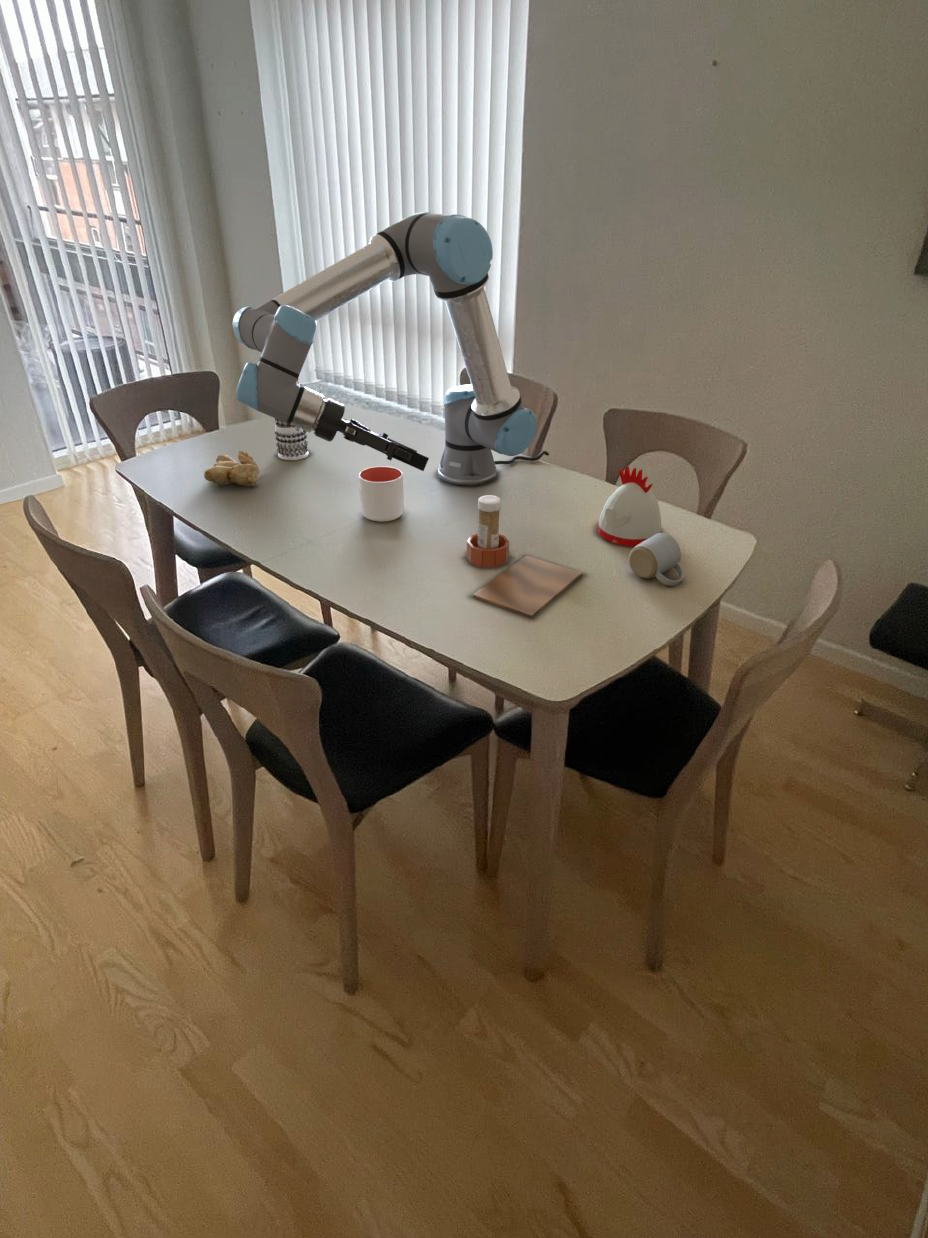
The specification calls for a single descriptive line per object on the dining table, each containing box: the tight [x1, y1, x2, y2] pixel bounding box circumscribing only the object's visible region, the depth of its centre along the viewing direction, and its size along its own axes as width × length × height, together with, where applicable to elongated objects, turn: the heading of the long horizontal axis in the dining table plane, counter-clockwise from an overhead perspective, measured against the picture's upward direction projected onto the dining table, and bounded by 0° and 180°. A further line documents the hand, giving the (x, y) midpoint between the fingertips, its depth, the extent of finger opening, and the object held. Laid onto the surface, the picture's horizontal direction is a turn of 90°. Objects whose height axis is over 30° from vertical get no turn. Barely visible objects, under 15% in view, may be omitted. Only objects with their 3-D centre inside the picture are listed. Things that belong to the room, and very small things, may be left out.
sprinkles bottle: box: [477, 494, 502, 549], centre depth 152 cm, size 5×5×14 cm
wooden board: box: [472, 555, 583, 619], centre depth 146 cm, size 20×13×1 cm, turn 145°
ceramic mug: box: [628, 532, 685, 587], centre depth 148 cm, size 11×8×8 cm
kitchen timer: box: [597, 465, 662, 547], centre depth 163 cm, size 14×14×15 cm
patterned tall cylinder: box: [271, 366, 309, 461], centre depth 200 cm, size 9×9×25 cm
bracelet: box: [466, 533, 510, 569], centre depth 155 cm, size 8×9×4 cm
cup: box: [358, 465, 405, 523], centre depth 171 cm, size 10×10×10 cm
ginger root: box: [203, 450, 260, 487], centre depth 188 cm, size 16×16×8 cm
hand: (420, 460), depth 148 cm, fingers open, 13 cm apart
